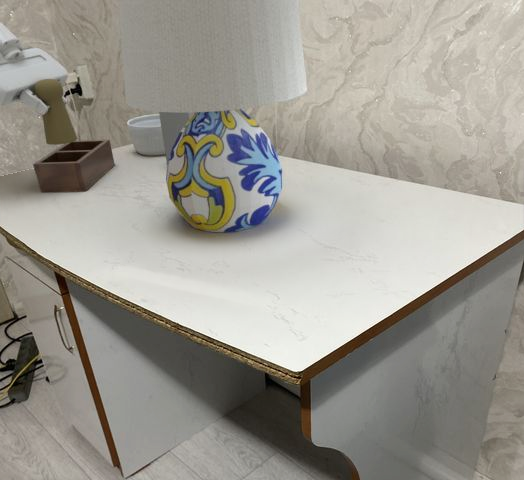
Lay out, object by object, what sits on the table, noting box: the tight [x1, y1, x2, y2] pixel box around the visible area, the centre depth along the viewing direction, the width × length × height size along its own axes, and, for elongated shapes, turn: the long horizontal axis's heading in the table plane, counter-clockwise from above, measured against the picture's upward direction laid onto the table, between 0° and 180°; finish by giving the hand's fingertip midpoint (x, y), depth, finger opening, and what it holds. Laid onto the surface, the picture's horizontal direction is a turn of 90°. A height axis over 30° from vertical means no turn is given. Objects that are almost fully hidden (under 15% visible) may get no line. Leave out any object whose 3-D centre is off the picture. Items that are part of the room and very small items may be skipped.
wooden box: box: [32, 139, 116, 193], centre depth 113 cm, size 10×18×6 cm, turn 174°
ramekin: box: [126, 113, 166, 157], centre depth 129 cm, size 13×13×7 cm
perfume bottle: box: [158, 112, 195, 165], centre depth 114 cm, size 7×7×18 cm
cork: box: [34, 79, 78, 146], centre depth 104 cm, size 6×6×11 cm
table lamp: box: [117, 0, 308, 233], centre depth 80 cm, size 27×27×40 cm
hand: (56, 108), depth 103 cm, fingers closed on cork, 4 cm apart
